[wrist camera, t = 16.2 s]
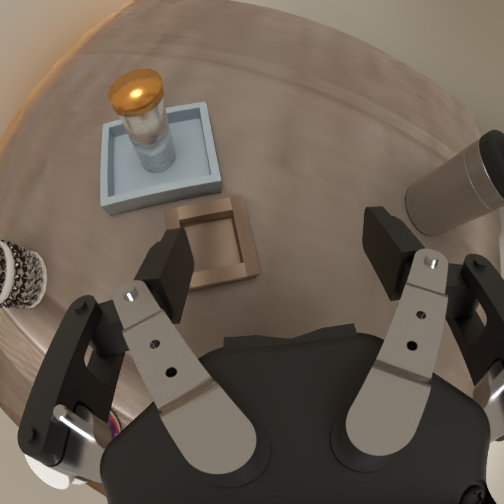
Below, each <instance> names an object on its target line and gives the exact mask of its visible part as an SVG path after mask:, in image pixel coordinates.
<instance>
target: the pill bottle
mask: <svg viewBox="0 0 504 504" xmlns="http://www.w3.org/2000/svg"><path fill="white" fill-rule="evenodd" d="M107 425H108V426H109V428H110V430H111V435H112V439H113V438H114V437H116V436H117V435H118V434H119V433H120V432H121V430H120V425H119V423H118V420H117V418H116V417H115V415H114V414H113V413H112V412H111V410H110V415H109V419H108V424H107ZM25 457H26V460H27V462H28V464H29V465H30V467H31V469H32V470H33V471H34V472H35V473H36V475H37V476H38V477H39V478H40V479H42V480H43V481H44V482H45V483H47V484H49V485H50V486H52V487H54V488H58V489H65V488H67V487H68V486H69V485H70V484H84V483H87V482H84V481H81V480H78V479H76V478H73V477H70V476H66V475H64V474H62V473H59V472H57V471H55V470H53V469H51V468H49V467H47V466H45V465H43V464H42V463H41V462H39V461H37V460H35V459H33V458H31V457H29V456H28V455H26V454H25Z"/></svg>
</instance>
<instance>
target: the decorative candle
mask: <svg viewBox="0 0 504 504" xmlns="http://www.w3.org/2000/svg"><path fill="white" fill-rule="evenodd" d="M24 250H25V248H24V247H21V249H20V248H19V247H18V245H16V244H13V245H12V244H11V243H10V242H9V241H6V242H5V241H4V240H1V241H0V308H2V307H3V306H5V307H6V308H9V307H12V308H14V309H17V308H20V309H24V308H33V307H35V306H36V305H38V304H39V303H40V302H41V300H42V298H43V296H44V294H45V293H46V287H47V282H48V280H47V269H46V266H45V263H44V261H43V259H42V258H41V257H40V255H39V254H38V253H36V252H33V251H31V250H30V249H28V250H27V251H24Z"/></svg>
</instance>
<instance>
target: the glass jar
mask: <svg viewBox="0 0 504 504" xmlns="http://www.w3.org/2000/svg"><path fill="white" fill-rule="evenodd" d="M163 95H164V90H163V85H162V80H161V76H160V74H159V73H158V72H156V71H154V70H152V69H137V70H133V71H131V72H128V73H126V74H124V75H122V76H121V77H120V78H118V79H117V80H116V81H115V82H114V83H113V84H112V86H111V88H110V90H109V94H108V96H109V99H110V101H111V104H112V106H113V108H114V110H115V112H116V113H117V114H118V115H119V117H120V119H121V121H122V123H123V126H124V128H125V130H126V132H127V134H128V136H129V139H130V141H131V143H132V145H133V147H134V149H135V151H136V153H137V155H138V157H139V160H140V162H141V164H142V166H143V167H144V169H145V170H146V171H148V172H151V173H161V172H164V171H166V170H167V169H169V168H170V167H171V166H172V165H173V163H174V161H175V158H176V153H175V149H174V145H173V140H172V136H171V132H170V127H169V123H168V119H167V114H166V109H165V105H164V100H163Z"/></svg>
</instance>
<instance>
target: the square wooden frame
mask: <svg viewBox="0 0 504 504" xmlns="http://www.w3.org/2000/svg"><path fill="white" fill-rule="evenodd" d="M164 213H165V220H166V228H167V230H168V229H175V228H182V227H183V228H184V229H185V231H186V234H187V238H188V241H189V244H190V248H191V251H192V254H193V258H194V272H193V275H192V279H191V282H190V286H189V290H188V291H191V290H196V289H201V288H206V287H211V286H216V285H221V284H226V283H231V282H235V281H240V280H245V279H250V278H255V277H257V276H258V275H259V274H261V273H260V268H259V264H258V259H257V255H256V251H255V246H254V242H253V237H252V233H251V229H250V224H249V220H248V216H247V211H246V207H245V203H244V198H243V195H241V196H235V197H229V198H224V199H218V200H212V201H207V202H202V203H196V204H191V205H186V206H181V207H176V208H171V209H166V210H164Z"/></svg>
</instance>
